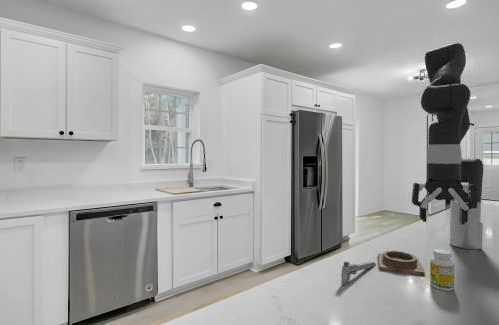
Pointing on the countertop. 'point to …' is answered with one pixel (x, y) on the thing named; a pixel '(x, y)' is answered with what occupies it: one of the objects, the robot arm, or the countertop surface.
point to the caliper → (353, 270)
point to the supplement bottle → (442, 270)
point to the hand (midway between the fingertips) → (442, 222)
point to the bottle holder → (400, 262)
